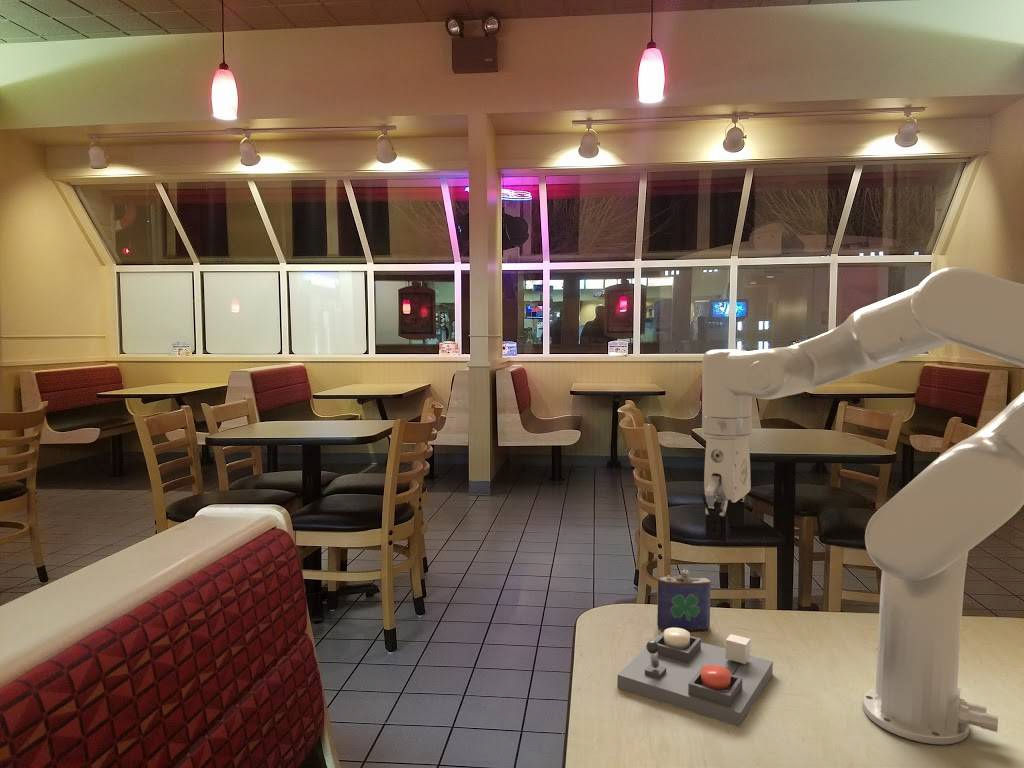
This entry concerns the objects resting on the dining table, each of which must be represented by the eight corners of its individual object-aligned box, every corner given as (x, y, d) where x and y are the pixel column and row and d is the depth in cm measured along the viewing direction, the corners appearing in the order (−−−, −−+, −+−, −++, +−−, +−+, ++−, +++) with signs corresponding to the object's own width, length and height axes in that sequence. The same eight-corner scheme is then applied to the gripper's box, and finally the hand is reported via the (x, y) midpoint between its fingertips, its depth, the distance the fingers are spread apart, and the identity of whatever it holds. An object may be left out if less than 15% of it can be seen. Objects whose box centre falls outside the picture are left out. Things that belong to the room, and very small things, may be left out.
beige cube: (749, 657, 107) (750, 638, 106) (745, 664, 105) (745, 644, 104) (730, 652, 108) (730, 633, 108) (725, 658, 106) (726, 639, 106)
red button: (734, 680, 98) (734, 669, 98) (725, 693, 95) (725, 682, 95) (706, 672, 100) (706, 662, 100) (696, 684, 97) (697, 673, 97)
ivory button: (693, 641, 110) (693, 631, 110) (684, 651, 107) (684, 641, 107) (669, 634, 113) (669, 625, 112) (659, 644, 109) (660, 634, 109)
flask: (708, 625, 124) (709, 567, 122) (712, 633, 121) (713, 573, 120) (655, 625, 124) (656, 566, 123) (658, 632, 121) (659, 572, 120)
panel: (772, 673, 107) (773, 651, 106) (739, 727, 93) (740, 701, 92) (661, 643, 117) (662, 622, 116) (617, 687, 103) (617, 664, 102)
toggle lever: (663, 664, 103) (659, 639, 101) (659, 672, 102) (655, 648, 100) (652, 660, 104) (648, 636, 102) (647, 669, 103) (643, 645, 101)
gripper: (734, 436, 101) (733, 550, 102) (764, 421, 115) (763, 522, 117) (684, 432, 105) (684, 542, 106) (719, 419, 119) (718, 516, 121)
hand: (725, 532), depth 112 cm, fingers open, 9 cm apart
